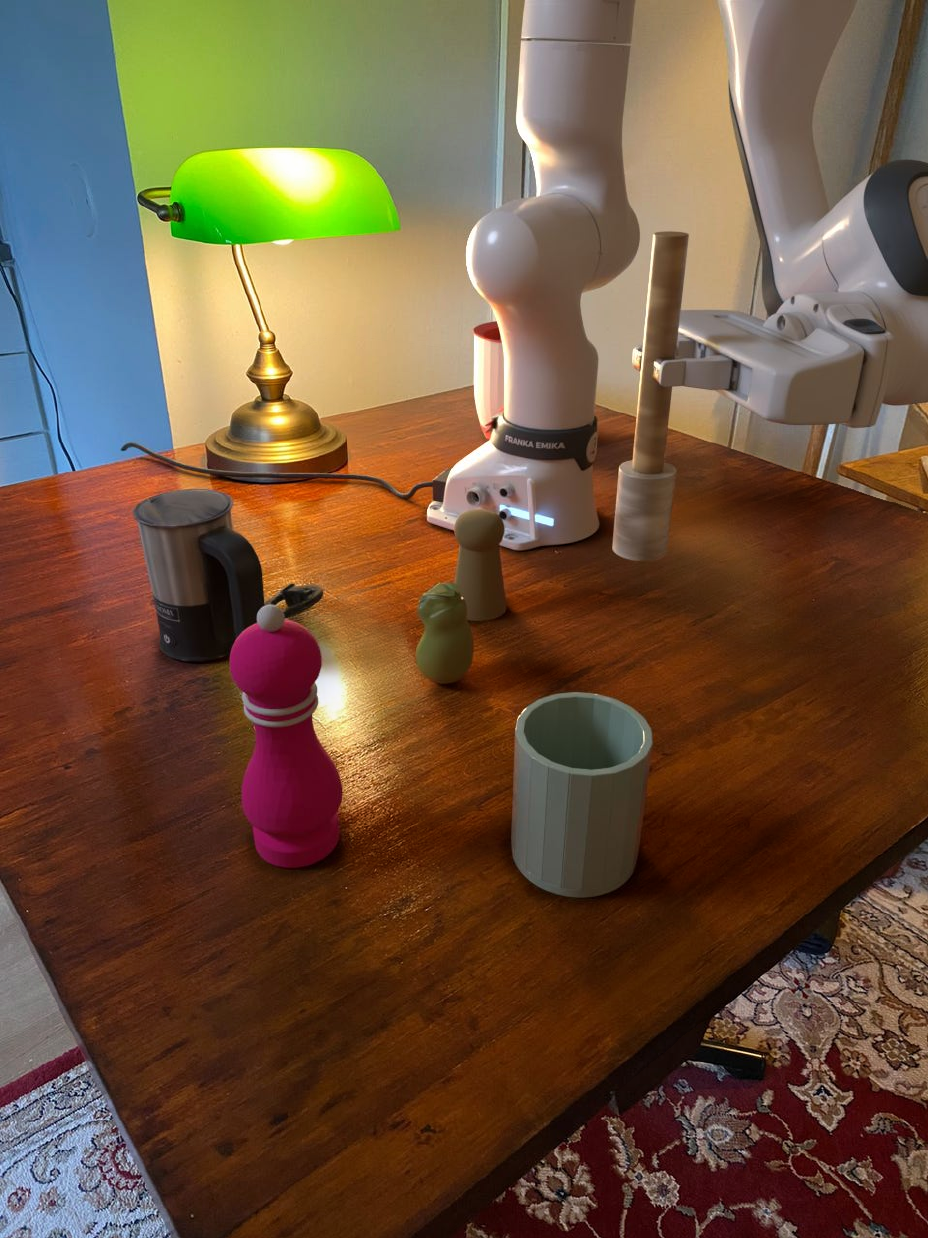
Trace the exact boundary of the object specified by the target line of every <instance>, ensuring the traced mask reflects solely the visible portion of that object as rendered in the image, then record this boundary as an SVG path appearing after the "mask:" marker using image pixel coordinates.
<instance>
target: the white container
mask: <svg viewBox="0 0 928 1238" xmlns="http://www.w3.org/2000/svg"><path fill="white" fill-rule="evenodd" d="M472 334H473V337H474V339H473V340H474V341H473V343H474V344H473V345H474V347H473V352H474V353H473V356H474V357H473V361H474V362H473V391H474V392H473V393H474V402H475V408H476V413H477V416H478V420H479V425H480V427H481V430H482V432H483V434H484V437H485V438H486V439H487V440H488V441H490V439H491V431H489V432H488V433H485V430H486V428H487V427H488V426H485V424H486V423H488V422H489V421H491V418H492V417H493V416H495V415H497V414H498V413H499V410H500V409H501V408H502V407H504V388H505V381H504V351H503V344H502V339H501V334H500V330H499V327H498V323H497V320H496V321H495V320H493V321H489V322H485V323H480V324H478V325H476V326H475V327H474V328H473V329H472Z"/></svg>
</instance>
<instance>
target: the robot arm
mask: <svg viewBox="0 0 928 1238" xmlns="http://www.w3.org/2000/svg"><path fill="white" fill-rule="evenodd" d="M716 2H717V5H718V10H719V14H720V18H721V23H722V30H723V35H724V36H723V37H724V41H725V49H726V57H727V71H728V72H727V73H728V101H729V103H728V104H729V110H730V118H731V123H732V129H733V133H734V138H735V143H736V146H737V147H736V148H737V151H738V156H739V160H740V164H741V168H742V173H743V176H744V181H745V184H746V189H747V194H748V198H749V201H750V206H751V210H752V213H753V218H754V221H755V226H756V231H757V234H758V239H759V244H760V251H761V296H762V302H763V305H764V309H765V311H766V314H767V316H768V318H766V319H765V320H764V319H761V318H759V317H757V316H754V315H751V314H749V313H747V312H744V311H739V310H732V309H681V312H680V321H679V330H678V339H677V348H676V356H673V357H659V358H658V359H656V361H655V362H654V372H653V379H654V380H655V381H656V382H658V383H659V384H660V385H662V386H663V387H672V388H673V387H674V388H675V387H686V388H693V389H700V390H708V391H715V392H717V393H719V394H720V395H722V396H724V397H725V398H727V399H729V400H731V401H732V402H734V403H736V404H738V405H739V406H741V407H743V408H745V409H747V410H748V411H750V412H751V413H753V414H756V415H757V416H758V417H760V418H762V419H763V420H765V421H767V422H771V423H776V424H779V425H780V424H781V425H788V426H821V425H822V426H825V425H826V426H827V425H839V424H840V425H842V426H846V427H848V428H851V429H864V428H871V427H875V425H876V423H877V420H878V418H879V414H880V411H881V408H882V405H886V406H896V407H899V406H911V405H918V404H919V405H920V404H927V403H928V162H926V161H922V160H917V159H896V160H892V161H889V162H886V163H884V164H882V165H880V166H879V167H877V168H876V170H874V171H873V172H872V173H871V174H870V175H868V176H867V177H866V178H864V179H863V180H862V181H861V182H859V184H857V185H856V186H855V187H853V189H852V190H851V191H849V192H848V193H847V194H846V195H845V196H844V197H842V198H841V199H840V200H839V201H838V202H837V203H836V205H834V206H833V208H832V209H831V210H830V207H829V203H828V199H827V194H826V190H825V185H824V182H823V177H822V172H821V169H820V163H819V160H818V155H817V151H816V146H815V142H814V141H815V140H814V135H813V134H814V132H813V131H814V130H813V118H814V112H815V111H814V110H815V105H816V101H817V97H818V93H819V90H820V87H821V84H822V81H823V79H824V76H825V74H826V70H827V68H828V66H829V63H830V61H831V58H832V56H833V54H834V52H835V49H836V48H837V45H838V44H839V43H838V42H839V41H840V39H841V37H842V35H843V32H844V30H845V28H846V27H847V24H848V23H849V21H850V18H851V16H852V14H853V12H854V9H855V8H856V4H857V2H858V0H716ZM635 6H636V0H524V4H523V14H522V23H521V35H520V38H521V39H523V40H520V51H519V65H518V66H519V69H518V85H517V97H516V100H517V101H516V112H515V121H516V128H517V131H518V134H519V136H520V137H521V139H522V140H523V141H524V143H525V144H526V146H527V148H528V149H529V150H528V151H530V155H531V159H532V163H533V169H534V175H535V183H536V184H535V185H536V196H529V197H522V198H521V197H520V198H516V199H512V200H510V201H508V202H505V203H503V204H502V205H500V206H498V207H497V208H495V209H493V210H492V211H490V212H488V213H487V214H485V215H484V216H482V217H481V218H480V219H479V220H478V221H477V222H476V224H475V225H474V226H473V228H472V230H471V231H470V234H469V237H468V239H467V244H466V250H465V251H466V253H465V260H466V267H467V272H468V275H469V278H470V281H471V283H472V285H473V287H474V289H476V292H477V293H478V294H479V295H480V296H481V297H482V298H483V299H484V300H485V301H486V302H487V303H488V304H489V306H490V308H491V309H492V312H493V314H494V317H495V320H496V321H497V323H498V327H499V330H500V334H501V339H502V344H503V351H504V381H505V388H504V407H502V408H501V409H500V410H499V413H498V414H497V415H495V416H493V417H492V418H491V421H489V422H488V423H486V424H485V426H488V427H487V428H486V430H485V433H488V432H489V431H491V439H490V440H488V441H487V442H485V443H484V444H482V445H480V446H479V447H477V448H476V449H475V450H473V451H472V452H471V453H469V454H468V455H466V456H465V457H463V458H462V459H461V460H459V461H458V462H457V463H456V464H455V465H454V466H453V468H449V467H448V468H446V469H445V470H443V471H442V472H441V473H440V474H438V475H437V476H435V477H434V478H433V479H432V481H423V482H419V483H417V484H415V485H413V486H412V488H411V489H409V492H406V493H404V492H403V493H402V492H400V491H399V490H398V489H396V488H395V487H394V486H393V485H392V484H391V483H390V482H389V481H387V480H385V479H383V478H380V477H377V476H372V475H365V474H357V473H356V474H355V473H354V474H353V473H327V472H326V473H325V472H324V473H323V472H321V473H320V472H248V471H245V472H244V471H231V470H230V471H229V470H220V469H219V470H218V469H211V468H204V467H199V466H194V465H190V464H187V463H184V462H180V461H177V460H174V459H172V458H170V457H168V456H165V455H163V454H160V453H157V452H155V451H153V450H152V449H149V448H148V447H146V446H145V445H142V444H140V443H137V442H132V441H130V442H127V443H125V444H124V445H123V446H122V447H121V448H120V451H121V452H126V451H127V450H128V449H129V448H135V449H138V450H140V451H142V452H143V453H145V454H147V455H148V456H150V457H152V458H154V459H157V460H160V461H162V462H165V463H167V464H169V465H171V466H174V467H176V468H180V469H182V470H187V471H190V472H195V473H200V474H205V475H214V476H222V477H233V478H234V477H235V478H252V479H253V478H255V479H256V478H258V479H259V478H261V479H327V480H329V479H330V480H335V479H336V480H358V481H367V482H372V483H375V484H380V485H382V487H384V488H386V489H387V490H388V491H389V492H390V493H392V494H393V495H394V496H396V497H398V498H400V499H402V500H403V499H404V500H406V499H408V500H409V499H411V498H413V497H414V496H415V495H416V493H417V491H418V490H421V489H423V488H432V501H431V503H430V504H429V505H428V508H427V509H426V510H427V511H426V522H428V523H429V524H433V525H435V526H437V527H438V526H439V527H441V528H444V529H447V530H452V531H454V526H455V522H456V520H457V518H458V517H459V515H461V514H462V513H464V512H466V511H469V510H474V509H485V510H490V511H492V512H495V513H497V514H498V515H499V516H500V517H501V519H502V521H503V523H504V527H505V529H504V535H503V539H502V541H501V543H500V544H499V547H500V546H501V547H504V548H507V549H510V550H514V551H527V550H531V549H534V548H539V547H543V546H556V545H565V544H566V545H567V544H572V543H575V542H580V541H582V540H585V539H587V538H588V537H590V536H592V535H593V534H595V533H596V532H597V531H598V529H599V528H600V520H599V515H598V511H597V506H596V499H595V491H594V489H595V488H594V474H593V473H594V472H593V471H594V470H593V465H594V464H595V459H596V456H597V449H598V417H597V416H596V414H595V412H596V400H597V388H598V387H597V386H598V375H599V374H598V372H599V359H600V358H599V353H598V350H597V348H596V346H595V345H594V344H593V343H592V342H591V340H589V339H588V336H587V333H586V331H585V326H584V321H583V316H582V307H581V306H582V305H581V300H582V294H584V293H587V292H591V291H594V290H595V291H596V290H598V289H600V288H603V287H605V286H607V285H608V284H610V283H611V282H612V281H614V280H615V279H616V278H617V277H619V276H620V275H621V274H622V273H623V272H625V271H626V270H627V269H628V268H629V267H630V265H631V264H632V263H633V262H634V260H635V258H636V256H637V253H638V251H639V247H640V242H641V229H640V228H641V227H640V223H639V219H638V217H637V214H636V212H635V210H634V209H633V207H632V205H631V204H630V202H629V199H628V193H627V192H628V191H627V185H626V176H625V175H626V174H625V167H624V166H625V165H624V155H623V154H624V153H623V125H624V123H623V122H624V113H625V112H624V110H625V102H626V94H627V93H626V92H627V83H628V82H627V81H628V75H629V74H628V73H629V65H630V55H631V48H632V46H631V44H632V39H633V27H634V15H635ZM629 44H630V45H629ZM642 353H643V344H638V345H636V346H635V347H634V348H633V350H632V360H631V365H632V368H633V369H635V370H636V371H639V372H640V373H641V364H642Z"/></svg>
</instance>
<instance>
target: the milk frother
mask: <svg viewBox="0 0 928 1238" xmlns="http://www.w3.org/2000/svg"><path fill="white" fill-rule="evenodd" d="M233 506H234V499H233V498H232V497H231V496H230V494H229V495H228V493H225V492H222V491H219V490H214V489H208V488H207V489H206V488H185V489H176V490H171V491H166V492H162V493H158V494H155V495H153V496H150V497H148V498H147V497H146V498H145V499H144V500H142V501H140V502H139V503H137V504H135V506H134V507H133V509H132V517H133V519H134V520H135V521H136V522H137V528H138V532H139V536H140V542H141V547H142V552H143V557H144V561H145V566H146V570H147V575H148V580H149V585H150V588H151V593H152V597H153V602H154V607H155V612H156V618H157V623H158V624H157V625H158V630H159V640H158V643H159V644H158V645H159V649H160V650H161V652H162V653H163V654H164V655H166V656H167V657H169V658H171V659H174V660H176V661H181V662H192V663H193V662H196V663H198V662H207V661H214V660H218V659H221V658H224V657H228V656H230V653H231V649H232V646H233V644H234V642H235V640H236V639H237V637H238V636H239V635H240V634H241V633H242V632H243V631H244V630H245V629H247V628H248V627H250V626H252V625H254V624H256V623H257V614H258V612H259V610H260V609H261V608H262V607H264V606H266V605H276V606H278V604H279V603H281V602H283V601H284V602H285V603H286V606H287V607H286V608H281V610H282V611H283V613H284V615H285V620H287V619H289V618H291V617H294V616H296V615H299V614H301V613H303V612H304V611H307V610H309V609H310V608H312V607H313V606H315V605H316V604H317V603H318V602H320V601H321V600H322V598H323V596H324V589H323V588H322V587H321V586H320V585H317V584H305V585H301V586H300V585H299V586H298V585H295V583H288V585H286V586H285V587H283V588H282V589H280V590H278V591H277V595H273V596H272V597H271V598H269V599H267V600H266V601H265V591H264V580H263V579H264V578H263V569H262V565H261V561H260V558H259V556H258V554H257V552H256V550H255V548H254V547H253V545H252V544H251V542H250V541H249V540H248V539H247V538H246V537H245V536H244V535H243V534H241V533H240V532H238V531H236V530H234V522H233V516H232V508H233Z"/></svg>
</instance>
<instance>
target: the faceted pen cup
mask: <svg viewBox="0 0 928 1238" xmlns="http://www.w3.org/2000/svg"><path fill="white" fill-rule="evenodd" d="M515 723H516V724H515V729H514V730H515V731H514V752H513V754H514V755H513V778H512V779H513V781H512V783H513V784H512V807H511V809H512V811H511V832H510V833H511V837H510V840H511V841H510V844H511V855H512V859H513V861H514V863H515V865H516V867H517V869H518V870H519V872H520V873H521V874H522V875H523V876H524V878H526V879H527V880H528V881H529V882H530V883H532V884H534V885H535V886H536V887H538V888H540V889H542V890H544V891H546V892H548V893H551V894H554V895H557V896H561V897H565V898H566V897H567V898H575V899H578V898H579V899H581V898H583V899H584V898H585V899H586V898H594V897H599V896H603V895H607V894H609V893H611V892H613V891H616V890H617V889H618V888H620V887H622V886H623V885H624V884H625V883H626V882H627V881H628V880H629V879H630V878H631V876H632V875H633V873H634V871H635V869H636V866H637V860H638V857H639V851H640V845H641V844H640V843H641V836H642V827H643V823H644V822H643V820H644V813H645V805H646V799H647V791H648V783H649V776H650V775H649V774H650V767H651V759H652V753H653V752H652V751H653V745H654V740H653V729H652V728H651V726H650V724H649V723H648V721H647V719H646V718H645V717H644V716H643V715H642V714H641V713H639V712H638V711H637V710H636V709H635V708H634V707H632V706H630V705H629V704H626V703H624V702H622V701H621V700H618V699H616V698H613V697H609V696H605V695H602V694H599V693H594V692H593V693H592V692H582V691H581V692H580V691H571V692H562V693H554V694H551V695H548V696H544V697H542V698H539V699H537V700H535V701H534V702H532V703H530V704H529V705H528V706H526V707H525V708H524V709H523V710H522V712H521V713H520V714H519V716H518V717H517V719H516V722H515Z"/></svg>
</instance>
